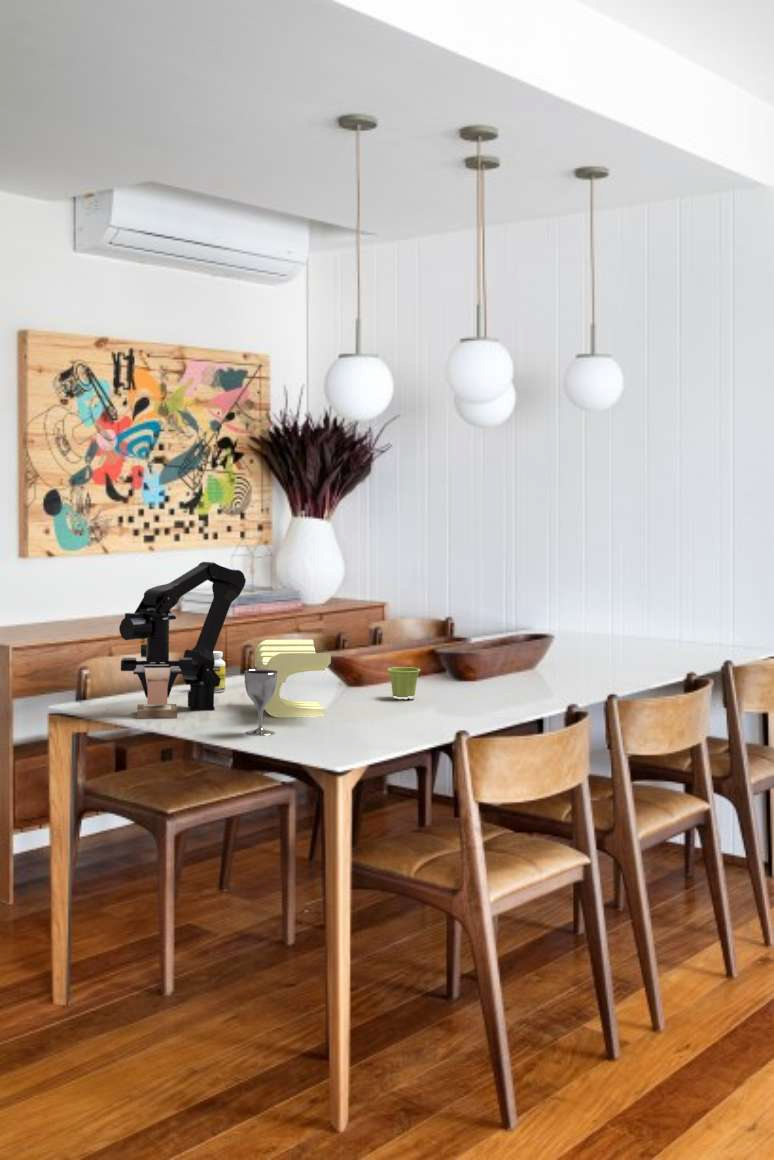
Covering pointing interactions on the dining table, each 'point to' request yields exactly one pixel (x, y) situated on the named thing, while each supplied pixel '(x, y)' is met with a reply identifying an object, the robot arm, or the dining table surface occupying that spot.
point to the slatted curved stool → (290, 672)
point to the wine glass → (260, 693)
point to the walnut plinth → (156, 711)
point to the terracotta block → (157, 692)
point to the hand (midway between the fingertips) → (157, 697)
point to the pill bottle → (219, 670)
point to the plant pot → (403, 681)
